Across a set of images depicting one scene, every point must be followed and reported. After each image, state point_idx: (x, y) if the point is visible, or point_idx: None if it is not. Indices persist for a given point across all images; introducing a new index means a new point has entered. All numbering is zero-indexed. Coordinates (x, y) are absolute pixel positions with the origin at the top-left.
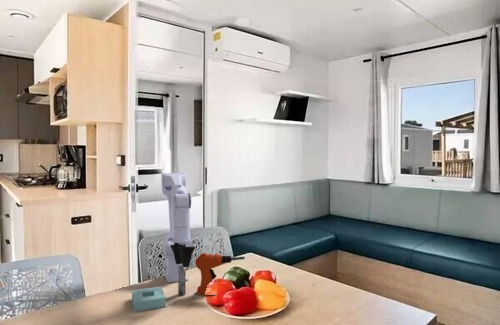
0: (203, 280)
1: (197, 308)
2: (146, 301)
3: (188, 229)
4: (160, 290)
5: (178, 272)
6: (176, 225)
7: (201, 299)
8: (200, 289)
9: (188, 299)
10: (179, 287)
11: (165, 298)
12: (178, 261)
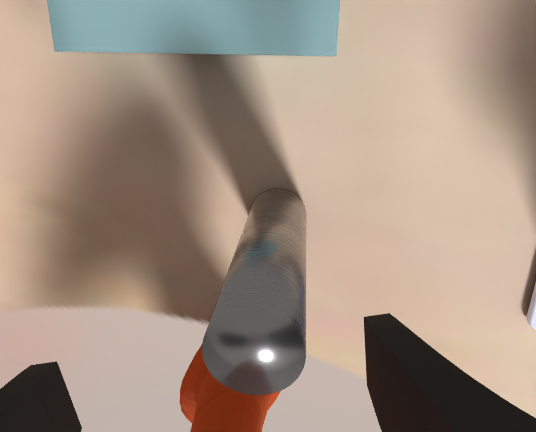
0: (206, 415)
1: (25, 251)
2: None
3: None
4: (237, 31)
5: (253, 273)
6: None
7: (148, 308)
8: None
9: (172, 235)
10: (254, 215)
11: (59, 50)
12: (379, 369)
